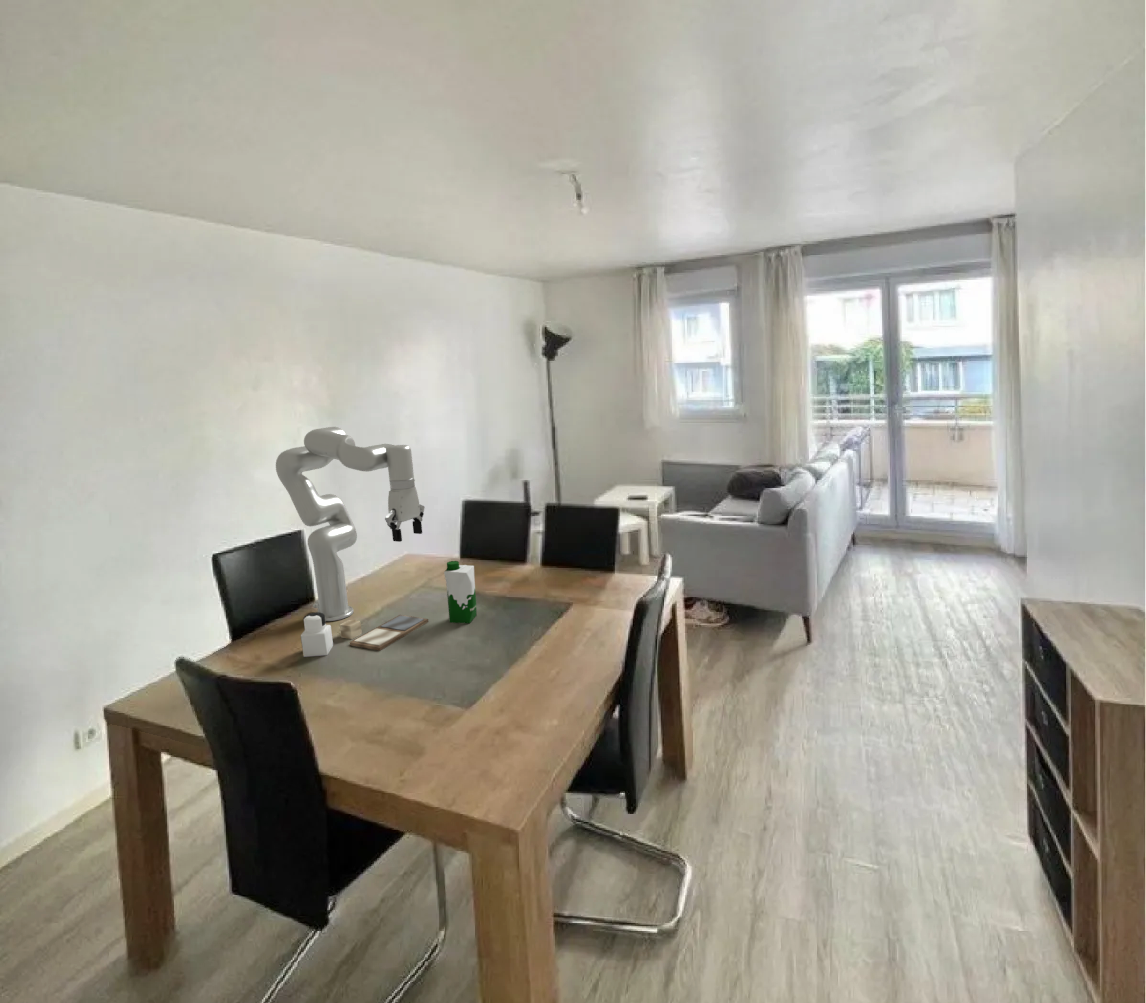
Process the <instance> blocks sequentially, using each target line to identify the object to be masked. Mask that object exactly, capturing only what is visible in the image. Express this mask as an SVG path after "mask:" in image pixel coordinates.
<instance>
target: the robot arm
mask: <svg viewBox="0 0 1146 1003" xmlns="http://www.w3.org/2000/svg"><path fill="white" fill-rule="evenodd" d="M303 445H304V446H297V447H292V448H289V449H286V450H284V451H282V452H280V453H279V454H278V456H277V457H276V462H275V471H276V474H277V477H278V479H279V481H280V482H281V484H282V486H284V489H286V491H287V494H288V495H289V497H290V499H291V501H292V503H293V505H294V507H295V510H296V512H297V514H298V516H299V518H300V520H301V522H302V523H303V524H304V526H307V527H316V526H319V525H323V524H326V523H328V525H326V526H323V527H320V528H318V529H316V530H314V531H312V532H311V533H310V534H309V536H308V538H307V547H308V551H309V553H310V556H311V560H312V563H313V569H314V570H313V571H314V577H315V585H316V592H317V599H316V600H315V602H314V603H313V604H312V607H313V608H315V609H317V612H319V613H323V614H324V615H325V622H332V621H339V620H343V619H346V618H348V617H350V616H352V615H353V613H354V608H353V606H350V605H349V603H348V602H349V601H348V593H347V583H346V575H345V567H344V563H343V561H342V559H341V558H340V557H339V555H338V552H340V551H344V550H345V549H348V548H351V547H352V546H354V544H355V543H356V542H357V539H358V533H357V530H356V527H355V525H354V523H353V520H352V518H351V516H350V514H349V511H348V510H347V508H346V506H345V504H344V502H343V500H342V499H341V498H340V497H339V496H338V495H335V494H332V493H327V494H323V495H320V494H319V493H318V491H317V488H316V487H315V484H314V483H313V482H312V481H311V480H310V479H309V478H308V477H307V476H305V475H304V474H303V473H304V472H309V471H314V470H318V469H322V468H324V467H326V466H328V465H329V464H330V463H331V462H333V460H338V461H339V462H340V463H341V464H342V465H343V466H344V467H346V468H348V469H352V470H354V471H355V470H356V471H360V472H372V471H377V470H380V469H381V470H382V469H386V468H387V470H388V479H389V488H390V490H389V491H388V498H387V499H388V500H387V508H388V509H387V510H388V514H387V515H386V516H385V518H384V521H385V522H386V524H387V527H389V529H390V530H391V536H392V541H393V542H400V543H401V542H402V541H403V535H402V528H401V525H402V523H404V522H407V521H410V520H413V521H412V528H413V529H412V530H413V531H412V532H413V534H418V535H421V534H422V535H423V526H422V522H423V517H424V514H425V513H424V512H425V509H426V508H425V506H424V505H422V504H420V499H419V495H418V490H417V488H416V486H415V485H416V484H415V481H416V479H415V475H414V473H415V472H414V464H413V456H412V455H413V454H412V448H411V447H410V446H409V445H407V444H396V445H395V444H390V443H381V444H380V443H379V444H376V445H371V446H366V447H363V446H356V442H355V440H354V438H353V437H352V436H350V435H347V433H346V431H344V430H343V429H342V428H341V427H337V426H327V427H322V428H315V429H312V430H310V431H308V432H307V433H306V435H305V436H304V439H303Z"/></svg>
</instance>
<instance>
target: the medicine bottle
mask: <svg viewBox="0 0 1146 1003" xmlns="http://www.w3.org/2000/svg"><path fill="white" fill-rule="evenodd" d="M326 622H327V621H325V615H324V614H323V613H319V612H318V611H316V612H311V613H308V614H306V615H304V617H303V624H304V626H303V627H304V630H303V632H302V633H301V634H300V643H301V649H302V656H303V658H309V657H319V656H320V657H322V656H323V657H325V656H328V654H329V653H330V651H331V650H332V648H333V647H334V642H333V640H334V639H333V634H332V626H331V624H327V623H326Z"/></svg>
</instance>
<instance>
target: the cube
mask: <svg viewBox="0 0 1146 1003" xmlns="http://www.w3.org/2000/svg"><path fill="white" fill-rule="evenodd" d="M339 628H340V629H339V630H340V637H341V638H342V639H349V640H354V639H356V638H358V637H360V636H362V635H363V633H362V632H363V631H362V623H361V620H356V619H348V620H346V621H344V622H342V623H340V624H339Z"/></svg>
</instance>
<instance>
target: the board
mask: <svg viewBox="0 0 1146 1003" xmlns="http://www.w3.org/2000/svg"><path fill="white" fill-rule="evenodd" d="M428 623H429V619H428V618H424V617H417V616H411V615H405V614H398V615H397V616H395V617H393V618H391V619H390V620H388V621H385V622H384V623H381V624H380V625H378V626H376V627H374V628H373V629H371V630H369V631H368V632H366V633H364V634H361V635H359V636H357V637H355V638H353V639H352V640H351V641H349V645H350V646H353V647H358V648H362V649H363V648H364V649H368V650H375V651H379V652H381V651H382V650H384V649H385V648H387V647H389V646H391V644H394V643H396V642H397V641H399V640H401V639H402V638H405V637H406V636H407V635H409V634H411V633H413V632H414V631H415V630H416V631H417V629H419V628H421V627H422V626H425V625H426V624H428Z"/></svg>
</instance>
